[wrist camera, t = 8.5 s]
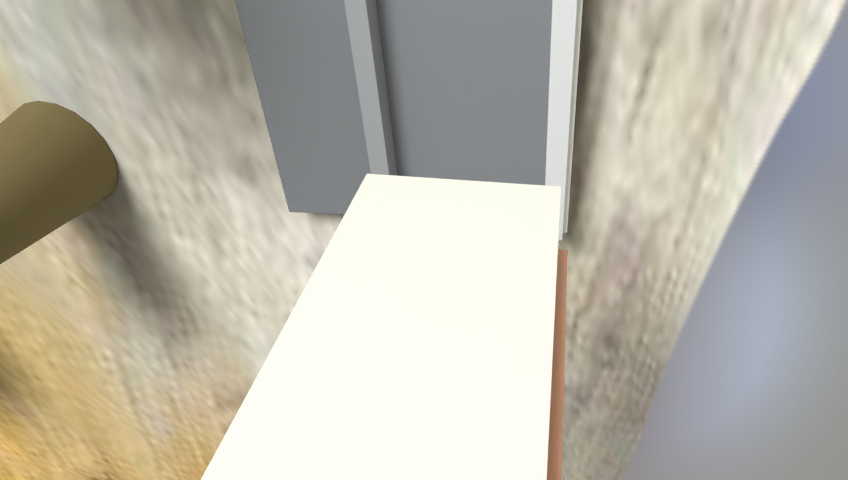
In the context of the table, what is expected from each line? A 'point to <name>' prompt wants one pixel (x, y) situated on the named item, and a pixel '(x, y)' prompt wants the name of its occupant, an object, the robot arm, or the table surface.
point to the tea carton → (418, 344)
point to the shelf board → (415, 92)
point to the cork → (48, 172)
